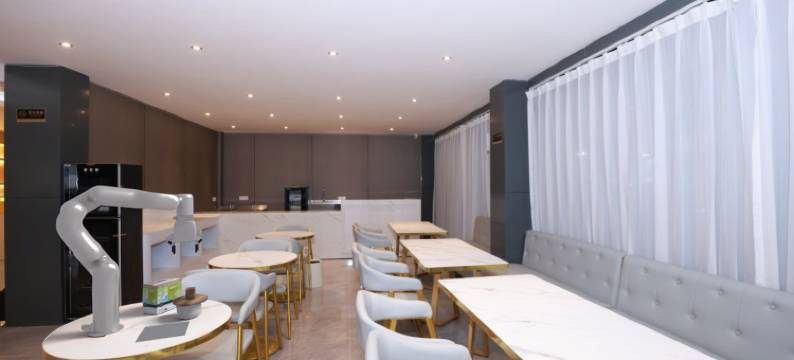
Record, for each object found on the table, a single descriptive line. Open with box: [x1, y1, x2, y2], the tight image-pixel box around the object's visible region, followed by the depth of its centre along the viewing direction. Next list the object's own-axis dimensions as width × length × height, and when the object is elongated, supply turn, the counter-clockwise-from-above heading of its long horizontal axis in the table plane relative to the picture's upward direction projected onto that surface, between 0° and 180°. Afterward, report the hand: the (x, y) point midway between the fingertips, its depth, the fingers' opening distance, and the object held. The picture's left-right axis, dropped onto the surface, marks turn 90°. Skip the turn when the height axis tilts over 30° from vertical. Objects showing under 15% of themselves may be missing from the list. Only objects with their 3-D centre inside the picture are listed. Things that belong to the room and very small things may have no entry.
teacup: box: [176, 303, 202, 321], centre depth 192 cm, size 14×11×8 cm
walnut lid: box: [173, 286, 209, 306], centre depth 192 cm, size 15×15×6 cm
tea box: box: [142, 277, 183, 316], centre depth 204 cm, size 15×10×15 cm, turn 162°
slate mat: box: [135, 320, 191, 343], centre depth 173 cm, size 18×18×1 cm
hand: (185, 253), depth 197 cm, fingers open, 9 cm apart
